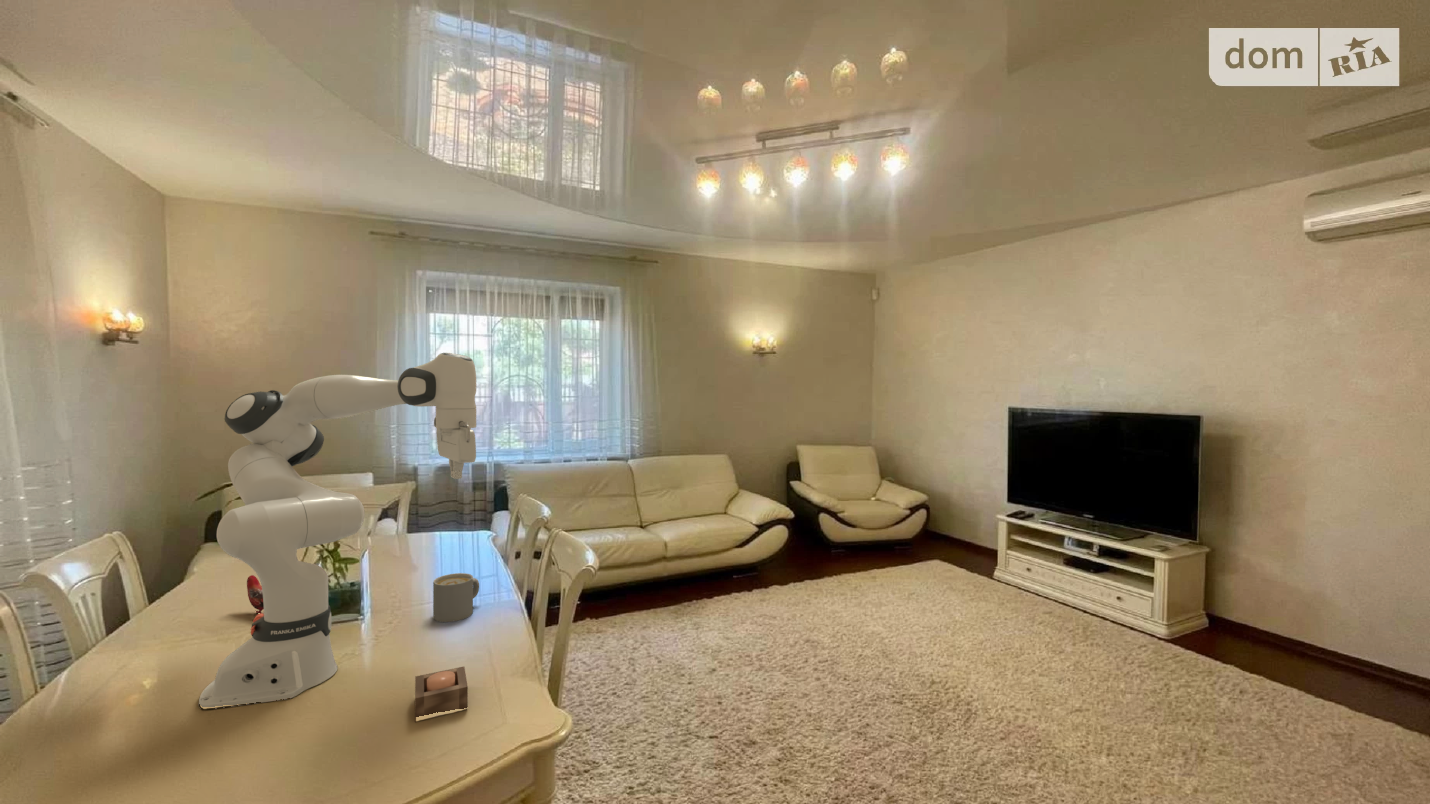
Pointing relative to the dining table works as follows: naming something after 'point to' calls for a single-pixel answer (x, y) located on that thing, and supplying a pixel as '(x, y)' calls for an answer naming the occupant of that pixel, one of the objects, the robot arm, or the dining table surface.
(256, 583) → the decorative bird figurine
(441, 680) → the push button
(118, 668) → the dining table surface
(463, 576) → the coffee mug
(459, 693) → the button box
